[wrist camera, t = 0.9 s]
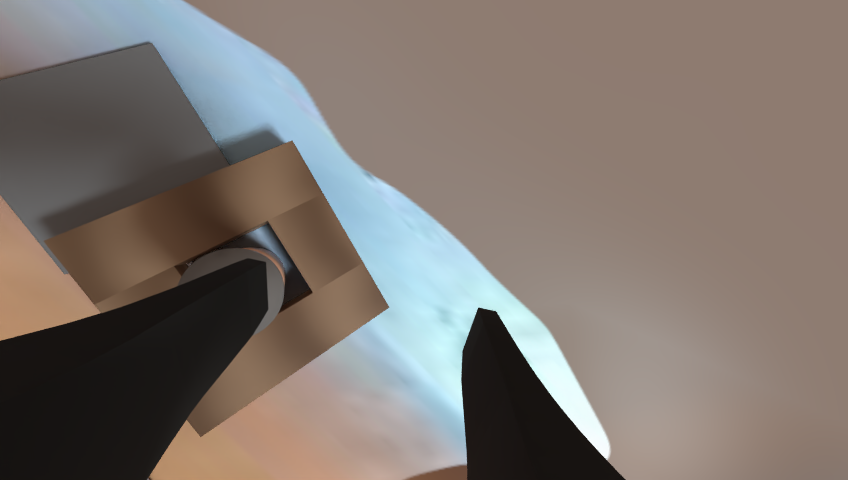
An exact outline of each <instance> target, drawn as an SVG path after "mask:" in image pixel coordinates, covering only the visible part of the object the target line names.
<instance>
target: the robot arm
mask: <svg viewBox="0 0 848 480" xmlns="http://www.w3.org/2000/svg"><path fill="white" fill-rule="evenodd" d="M267 311H268V289H267V269H266V262H264V261H260V260H255V259H250V258H247V259H244V260H241V261H238V262H236V263H233V264H230V265H228V266H226V267H223V268H221V269H218V270H216V271H213V272H211V273H209V274H206V275H204V276H201V277H199V278H196V279H194V280H191V281H189V282H186V283H184V284H181V285H179V286H177V287H174V288H171V289H169V290H166V291H163V292H160V293H158V294H155V295H152V296H150V297H147V298H144V299H142V300H139V301H136V302H134V303H131V304H128V305H125V306H122V307H119V308H116V309H113V310H110V311H107V312H104V313H100V314H97V315H94V316H90V317H87V318H84V319H81V320H77V321H74V322H70V323H67V324H63V325H59V326H56V327H52V328H48V329H44V330H40V331H36V332H33V333H29V334H25V335H21V336H17V337H13V338H10V339H6V340H2V341H0V480H149V479H148V477H149V476H150V474H151V473H152V471H153V469H154V468H155V466H156V465H157V463H158V462H159V460H160V459H161V457H162V455H163V454H164V452H165V451H166V449H167V448H168V446H169V445H170V443H171V442H172V440H173V439H174V437H175V436H176V434H177V433H178V431H179V430H180V428H181V427H182V425H183V424H184V422H185V421H186V419H187V418H188V416H189V415H190V414H191V412H192V411H193V409H194V408H195V407H196V405H197V404H198V403H199V401H200V400H201V399H202V398H203V396H204V395H205V394H206V393H207V391H208V390H209V389H210V388H211V386H212V385H213V384H214V383H215V382H216V380H217V379H218V378H219V377H220V375H221V374H222V373H223V372H224V370H225V369H226V368H227V367H228V366H229V364H230V363H231V362H232V361H233V359H234V358H235V357H236V356H237V354H238V353H239V352H240V351H241V349H242V348H243V347H244V346H245V344H246V343H247V342H248V341H249V339H250V338H251V337H252V335H253V334H254V332H255V331H256V329H257V328H258V326H259V324H260V323H261V321H262V319H263V318H264V316H265V314H266V313H267ZM461 381H462V396H463V409H464V422H465V436H466V449H467V469H468V470H467V480H625V479H624V478H623V477H622V476H621V475H620V474H619V473H618V472H617V471H616V470H615V468H614V467H613V466H612V465H611V464H610V463H609V462H608V461H607V460H606V459H605V458H604V457H603V456H602V455H601V454H600V452H599V451H598V450H597V449H596V448H595V447H594V446H593V445H592V444H591V443H590V442H589V441H588V439H587V438H586V437H585V436H584V435H583V434H582V433H581V432H580V430H579V429H578V428H577V427H576V426H575V424H574V423H573V422H572V421H571V420H570V418H569V417H568V416H567V415H566V414H565V412H564V411H563V410H562V409H561V408H560V406H559V405H558V404H557V402H556V401H555V400H554V399H553V397H552V396H551V395H550V393H549V392H548V391H547V389H546V388H545V386H544V385H543V384H542V382H541V381H540V380H539V378H538V377H537V375H536V374H535V372H534V371H533V370H532V368H531V367H530V365H529V364H528V362H527V361H526V359H525V357H524V356H523V354H522V353H521V351H520V350H519V348H518V347H517V345H516V343H515V342H514V340H513V338H512V337H511V335H510V334H509V332H508V330H507V329H506V327H505V325H504V324H503V322H502V320H501V319H500V317H499V315H498V314H497V312H496V311H492V310H487V309H482V308H478V310H477V313H476V315H475V318H474V321H473V324H472V326H471V329H470V332H469V335H468V337H467V340H466V343H465V346H464V348H463V354H462V378H461Z"/></svg>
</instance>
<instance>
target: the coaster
mask: <svg viewBox="0 0 848 480" xmlns="http://www.w3.org/2000/svg"><path fill="white" fill-rule="evenodd" d="M228 166H230V165H229V163H228V162H227V160H226V159H225V157H224V155H223V154H222V152H221V151H220V149H219V147H218V146H217V144H216V143H215V141H214V140H213V138H212V136H211V135H210V133H209V132H208V130H207V129H206V127H205V125H204V124H203V122H202V121H201V119H200V117H199V116H198V114H197V113H196V111H195V110H194V108H193V106H192V105H191V103H190V102H189V100H188V99H187V97H186V95H185V94H184V92H183V91H182V89H181V88H180V86H179V84H178V83H177V81H176V80H175V78H174V76H173V75H172V73H171V72H170V70H169V69H168V67H167V65H166V64H165V62H164V61H163V59H162V58H161V56H160V54H159V53H158V51H157V50H156V48H155V47H154V45H153V44H152V43H150V44H146V45H142V46H138V47H134V48H130V49H126V50H121V51H117V52H113V53H109V54H105V55H101V56H97V57H93V58H89V59H85V60H80V61H76V62H72V63H68V64H64V65H60V66H56V67H52V68H48V69H43V70H39V71H35V72H31V73H27V74H23V75H19V76H15V77H11V78H6V79H2V80H0V195H1V196H2V198H3V199H4V200H5V201H6V202H7V204H8V205H9V206H10V207H11V209H12V210H13V211H14V212H15V214H16V215H17V216H18V217H19V219H20V220H21V221H22V222H23V224H24V225H25V226H26V227H27V228H28V230H29V231H30V232H31V233H32V235H33V236H34V237H35V238H36V240H37V241H38V242H39V243H40V245H41V246H42V247H43V248H44V250H45V251H46V252H47V253H48V254H49V256H50V257H51V258H52V259H53V261H54V262H55V263H56V264H57V266H58V267H59V268H60V269H61V271H62V272H63V273H64V274H69V273H68V271H67V270H66V269H65V268H64V266H63V265H62V264H61V263H60V261H59V260H58V259H57V258H56V256H55V255H54V254H53V253H52V251H51V250H50V249H49V248H48V246H47V245H46V244H45V243H44V240H47V239H49V238H52V237H54V236H57V235H59V234H62V233H64V232H67V231H69V230H72V229H74V228H77V227H79V226H82V225H84V224H87V223H89V222H92V221H94V220H96V219H99V218H101V217H104V216H106V215H109V214H111V213H114V212H116V211H119V210H121V209H124V208H126V207H129V206H131V205H134V204H136V203H139V202H141V201H144V200H146V199H149V198H151V197H153V196H156V195H158V194H161V193H163V192H166V191H168V190H171V189H173V188H176V187H178V186H181V185H183V184H186V183H188V182H191V181H193V180H196V179H198V178H201V177H203V176H206V175H208V174H210V173H213V172H215V171H218V170H220V169H223V168H225V167H228Z"/></svg>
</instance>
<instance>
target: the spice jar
mask: <svg viewBox="0 0 848 480" xmlns="http://www.w3.org/2000/svg"><path fill="white" fill-rule="evenodd" d="M247 258H250V259H255V260H260V261H264V262H266V269H267V289H268V311H267V313H266V314H265V316H264V318H263V319H262V321H261V323H260V324H259V326H258V328H257V329H256V331H255V332H254V334H253V335H255V334H257V333H259V332H260V331H262V330H263V329H265V328H266V327H267V326H268V325H269V324H270V323H271V322H272V321H273V320H274V319H275V317H276V316H277V314H278V312H279V310H280V308H281V306H282V303H283V298H284V285H285V278H286V273H285V268H284V265H283V263H282V261H281V260H280V259H279V258H278V256H277V255H275V254H274V253H272V252H271V251H269V250H266V249H263V248H258V247H249V248H230V249H222V250H218V251H214V252H211V253H209V254H206V255H204V256H203V257H201V258H199V259H198V260H196V261H195V262H194V263H193V264H191V265H190V266H189V267H188V268H187V270H186V271H185V272H184V273H183V275H182V277H181V278H180V281H179V283H178V285H177V286H179V285H181V284H184V283H186V282H189V281H191V280H194V279H196V278H199V277H201V276H204V275H206V274H209V273H211V272H213V271H216V270H218V269H221V268H223V267H226V266H228V265H230V264H233V263H236V262H238V261H241V260H244V259H247ZM253 335H252V336H253Z"/></svg>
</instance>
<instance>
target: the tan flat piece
mask: <svg viewBox="0 0 848 480" xmlns="http://www.w3.org/2000/svg"><path fill="white" fill-rule="evenodd" d="M268 223H269V224H270V225H271V227H272V228H273V230H274V231H275V233H276V235H277V236H278V238H279V239H280V241H281V243H282V244H283V246H284V247H285V249H286V250H287V252H288V254H289V255H290V257H291V258H292V260H293V262H294V263H295V265H296V266H297V268H298V269H299V271H300V273H301V274H302V276H303V277H304V279H305V281H306V282H307V284H308V285H309V287H310V288H311V289H309V290H307V291H306V292H304V293H302V294H301V295H299V296H297V297H296V298H294V299H292V300H291V301H289V302H287V303H286V304H284V305H282V306H281V308H280V310H279V312H278V314H277V316H276V317H275V319H274V320H273V321H272V322H271V323H270V324H269V325H268V326H267V327H266V328H265V329H263V330H262V331H260V332H259V333H257V334H255V335H253V336H252V337H251V338H250V339H249V341H248V342H247V343H246V344H245V346H244V347H243V348H242V349H241V351H240V352H239V353H238V354H237V356H236V357H235V358H234V359H233V361H232V362H231V363H230V364H229V366H228V367H227V368H226V369H225V370H224V372H223V373H222V374H221V375H220V377H219V378H218V379H217V380H216V382H215V383H214V384H213V385H212V386H211V388H210V389H209V390H208V391H207V393H206V394H205V395H204V396H203V398H202V399H201V400H200V401H199V403H198V404H197V405H196V407H195V408H194V409H193V411H192V412H191V414H190V415H189V416H188V418H187V421H188V422H189V423H190V424H191V426H192V427H193V428H194V429H195V431H196V432H197V433H198V434H199V436H200V437H201V436H203V435H204V434H206V433H207V432H209V431H210V430H212V429H213V428H215V427H216V426H217V425H219V424H220V423H222V422H223V421H225V420H226V419H228V418H229V417H231V416H232V415H233V414H235V413H236V412H238V411H239V410H241V409H242V408H244V407H245V406H247V405H248V404H249V403H251V402H252V401H254V400H255V399H257V398H258V397H260V396H261V395H263V394H264V393H265V392H267V391H268V390H270V389H271V388H273V387H274V386H276V385H277V384H279V383H280V382H281V381H283V380H284V379H286V378H287V377H289V376H290V375H292V374H293V373H295V372H296V371H297V370H299V369H300V368H302V367H303V366H305V365H306V364H308V363H309V362H311V361H312V360H313V359H315V358H316V357H318V356H319V355H321V354H322V353H324V352H325V351H327V350H328V349H329V348H331V347H332V346H334V345H335V344H337V343H338V342H340V341H341V340H343V339H344V338H345V337H347V336H348V335H350V334H351V333H353V332H354V331H356V330H357V329H359V328H360V327H361V326H363V325H364V324H366V323H367V322H369V321H370V320H372V319H373V318H375V317H376V316H377V315H379V314H380V313H382V312H383V311H385V310H386V309H388V308H389V306H388V304H387V303H386V301H385V299H384V298H383V296H382V294H381V292H380V291H379V289H378V287H377V285H376V284H375V282H374V280H373V279H372V277H371V275H370V273H369V272H368V270H367V268H366V267H365V265H364V263H363V261H362V260H361V258H360V256H359V255H358V253H357V251H356V249H355V248H354V246H353V244H352V242H351V241H350V239H349V237H348V236H347V234H346V232H345V230H344V229H343V227H342V225H341V224H340V222H339V220H338V218H337V217H336V215H335V213H334V211H333V210H332V208H331V206H330V205H329V203H328V201H327V199H326V198H325V196H324V194H323V193H322V191H321V189H320V187H319V186H318V184H317V182H316V181H315V179H314V177H313V175H312V174H311V172H310V170H309V168H308V167H307V165H306V163H305V162H304V160H303V158H302V156H301V155H300V153H299V151H298V150H297V148H296V146H295V144H294V143H293V141H290V142H287V143H285V144H282V145H280V146H277V147H275V148H272V149H270V150H267V151H265V152H263V153H260V154H258V155H255V156H253V157H250V158H248V159H245V160H243V161H240V162H238V163H235V164H233V165H230V166H228V167H225V168H223V169H220V170H218V171H215V172H213V173H210V174H208V175H206V176H203V177H201V178H198V179H196V180H193V181H191V182H188V183H186V184H183V185H181V186H178V187H176V188H173V189H171V190H168V191H166V192H163V193H161V194H158V195H156V196H153V197H151V198H149V199H146V200H144V201H141V202H139V203H136V204H134V205H131V206H129V207H126V208H124V209H121V210H119V211H116V212H114V213H111V214H109V215H106V216H104V217H101V218H99V219H96V220H94V221H92V222H89V223H87V224H84V225H82V226H79V227H77V228H74V229H72V230H69V231H67V232H64V233H62V234H59V235H57V236H54V237H52V238H49V239H47V240H44V243H45V244H46V245H47V246H48V248H49V249H50V250H51V251H52V253H53V254H54V255H55V256H56V258H57V259H58V260H59V261H60V263H61V264H62V265H63V266H64V268H65V269H66V270H67V271H68V273H69V274H70V275H71V276H72V278H73V279H74V280H75V281H76V282H77V284H78V285H79V286H80V287H81V289H82V290H83V291H84V292H85V294H86V295H87V296H88V297H89V299H90V300H91V301H92V302H93V304H94V305H95V306H96V307H97V309H98V310H99V311H100V312H101V313H104V312H107V311H110V310H113V309H116V308H119V307H122V306H125V305H128V304H131V303H134V302H136V301H139V300H142V299H144V298H147V297H150V296H152V295H155V294H158V293H160V292H163V291H166V290H169V289H171V288H174V287H177V285H178V283H179V281H180V278H181V277H182V275H183V273H184V272H185V271H186V270H187V268H188V265H187V264H186V263H189V262H191V261H193V260H195V259H197V258H199V257H201V256H203V255H205V254H207V253H209V252H211V251H213V250H215V249H217V248H219V247H221V246H223V245H225V244H227V243H229V242H231V241H233V240H235V239H237V238H240V237H242V236H244V235H246V234H248V233H250V232H252V231H254V230H256V229H258V228H260V227H262V226H264V225H266V224H268Z"/></svg>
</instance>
